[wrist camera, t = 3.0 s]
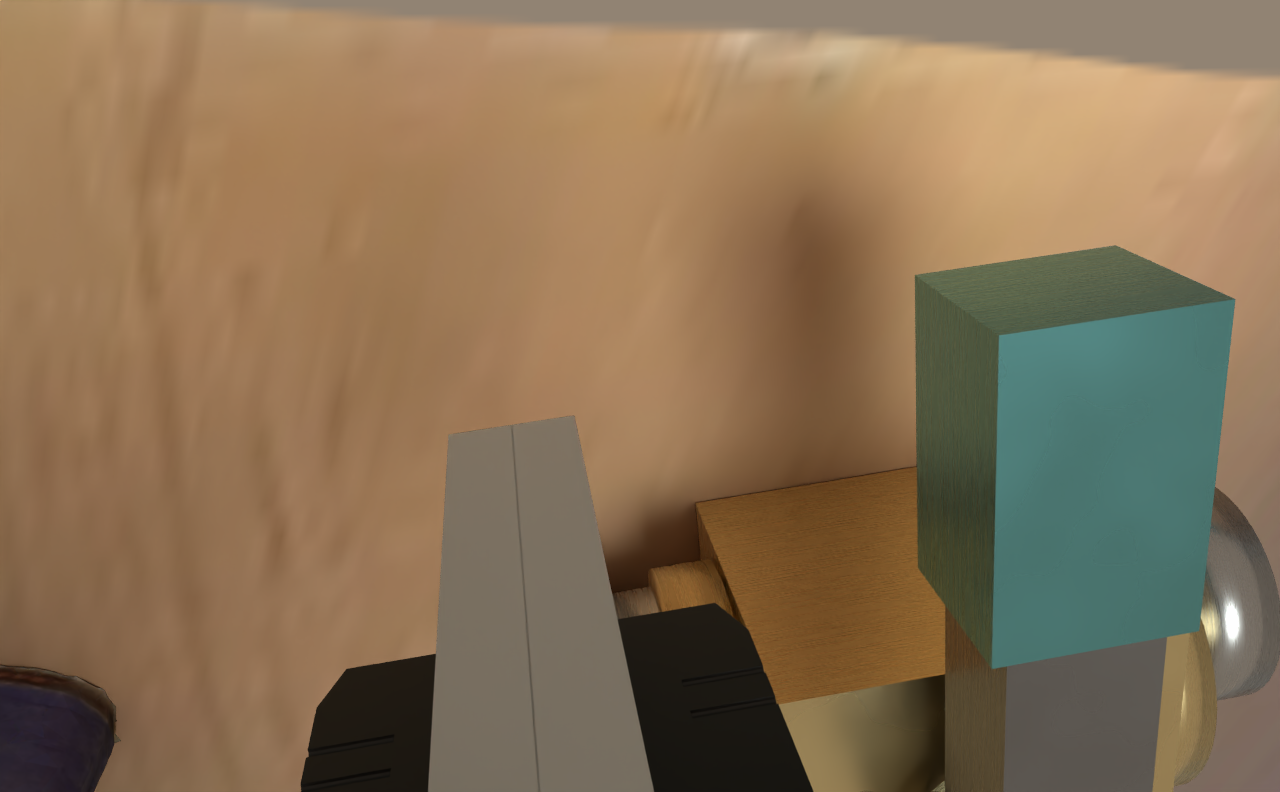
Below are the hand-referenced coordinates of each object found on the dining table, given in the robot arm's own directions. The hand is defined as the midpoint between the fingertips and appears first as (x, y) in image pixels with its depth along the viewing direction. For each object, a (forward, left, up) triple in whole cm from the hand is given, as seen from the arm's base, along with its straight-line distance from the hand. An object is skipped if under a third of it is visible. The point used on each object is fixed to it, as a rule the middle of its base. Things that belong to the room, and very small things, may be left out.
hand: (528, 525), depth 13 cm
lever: (+7, -4, -1) cm, 8 cm away
